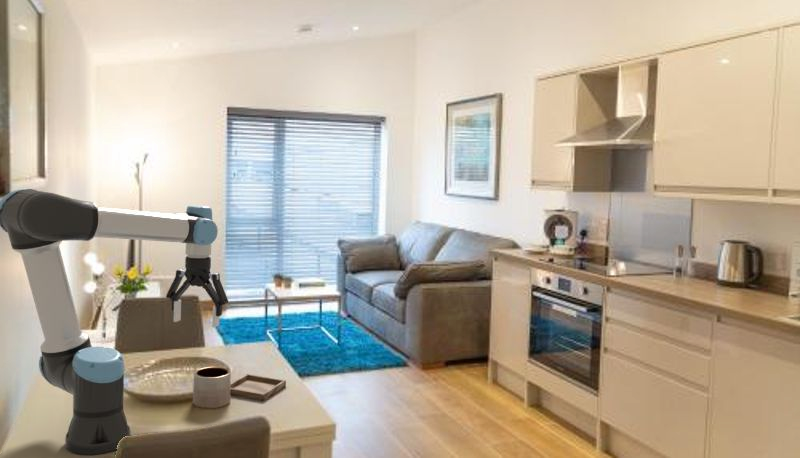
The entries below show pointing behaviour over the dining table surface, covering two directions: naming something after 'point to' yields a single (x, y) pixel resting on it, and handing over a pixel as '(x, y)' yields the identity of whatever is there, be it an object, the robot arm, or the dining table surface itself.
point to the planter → (211, 387)
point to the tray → (256, 387)
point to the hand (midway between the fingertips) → (196, 323)
